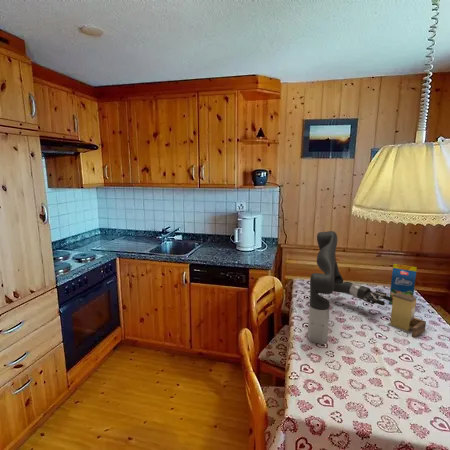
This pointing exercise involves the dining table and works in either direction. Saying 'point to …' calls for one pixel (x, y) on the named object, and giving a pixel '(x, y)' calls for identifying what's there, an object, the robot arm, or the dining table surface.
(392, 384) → the dining table surface
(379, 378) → the dining table surface
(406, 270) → the blue food package
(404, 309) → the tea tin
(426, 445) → the dining table surface
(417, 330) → the corner arena
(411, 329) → the mat
